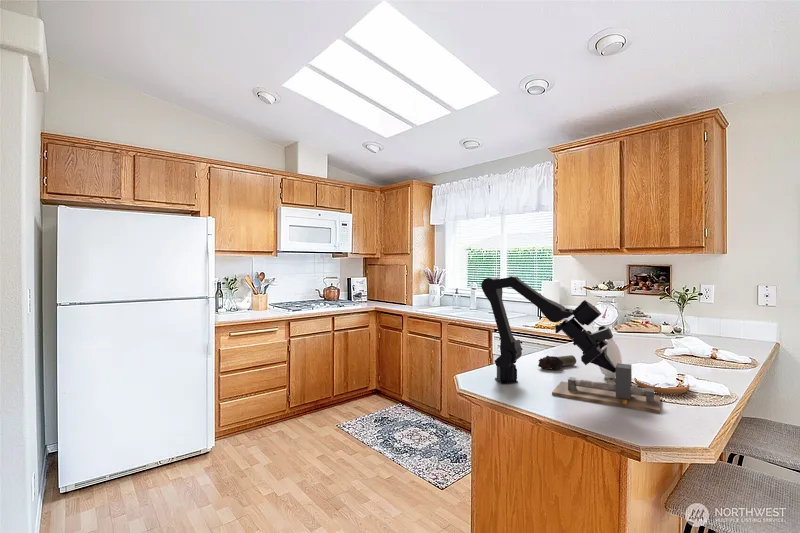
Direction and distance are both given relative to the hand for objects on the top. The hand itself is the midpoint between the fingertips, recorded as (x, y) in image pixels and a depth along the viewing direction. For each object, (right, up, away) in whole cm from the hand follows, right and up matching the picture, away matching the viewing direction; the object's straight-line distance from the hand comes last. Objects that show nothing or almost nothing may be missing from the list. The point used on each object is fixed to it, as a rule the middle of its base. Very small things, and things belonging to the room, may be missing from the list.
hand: (615, 371), depth 127 cm
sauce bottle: (+11, -9, +23) cm, 27 cm away
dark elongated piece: (-3, -9, +38) cm, 40 cm away
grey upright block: (+2, -7, -1) cm, 8 cm away
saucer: (+21, -9, +10) cm, 25 cm away
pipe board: (-2, -9, +2) cm, 9 cm away
